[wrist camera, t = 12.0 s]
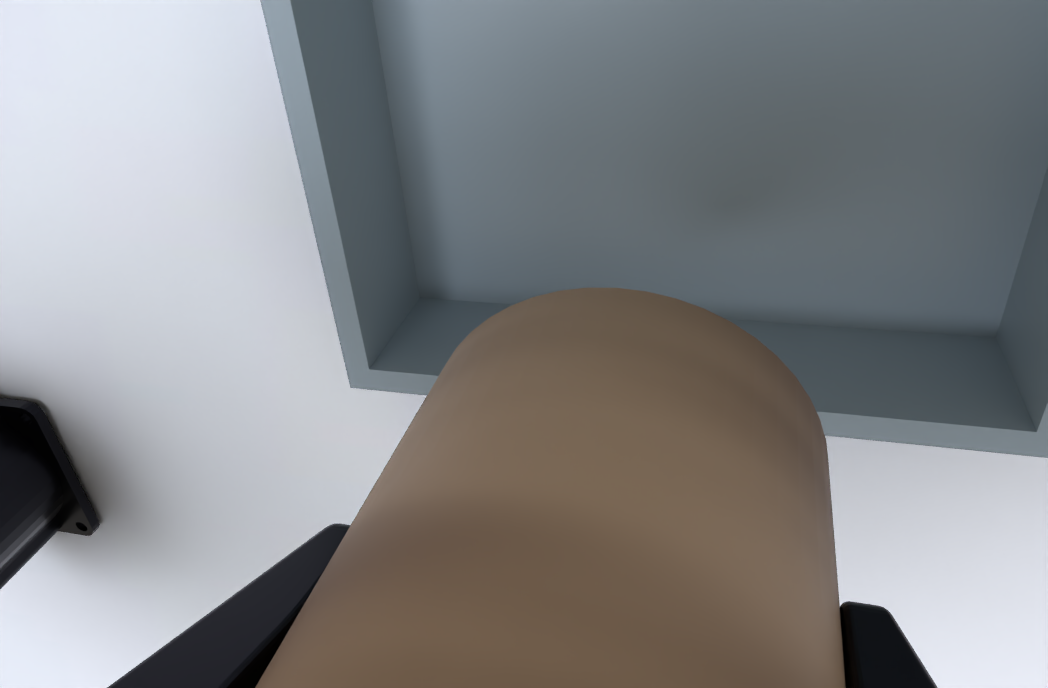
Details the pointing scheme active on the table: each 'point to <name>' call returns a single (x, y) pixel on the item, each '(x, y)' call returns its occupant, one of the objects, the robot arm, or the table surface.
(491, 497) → the walnut cylinder
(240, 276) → the table surface
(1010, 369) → the tote
